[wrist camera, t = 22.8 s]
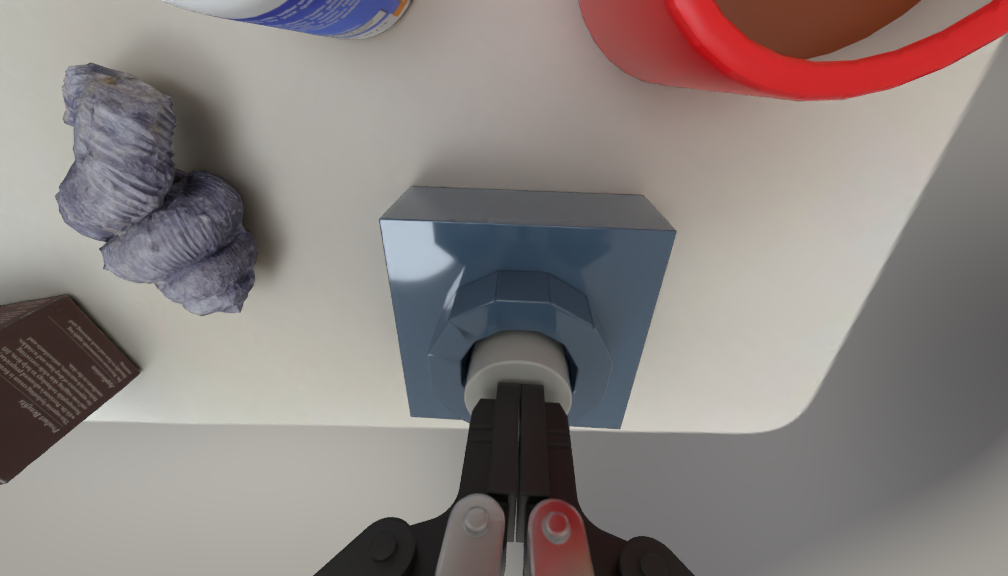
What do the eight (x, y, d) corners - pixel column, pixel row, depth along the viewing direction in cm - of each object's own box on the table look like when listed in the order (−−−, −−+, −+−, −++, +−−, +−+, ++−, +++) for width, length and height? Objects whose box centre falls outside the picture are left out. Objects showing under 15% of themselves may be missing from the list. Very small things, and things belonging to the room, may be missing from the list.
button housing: (604, 369, 21) (630, 469, 16) (429, 360, 21) (397, 455, 16) (644, 194, 15) (702, 257, 10) (410, 185, 16) (354, 242, 11)
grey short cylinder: (561, 396, 15) (566, 440, 13) (472, 391, 15) (464, 434, 13) (571, 324, 13) (579, 364, 11) (470, 319, 13) (461, 358, 11)
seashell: (141, 70, 15) (280, 273, 20) (-49, 105, 12) (170, 332, 17) (154, 33, 12) (318, 290, 17) (-108, 70, 9) (189, 368, 14)
